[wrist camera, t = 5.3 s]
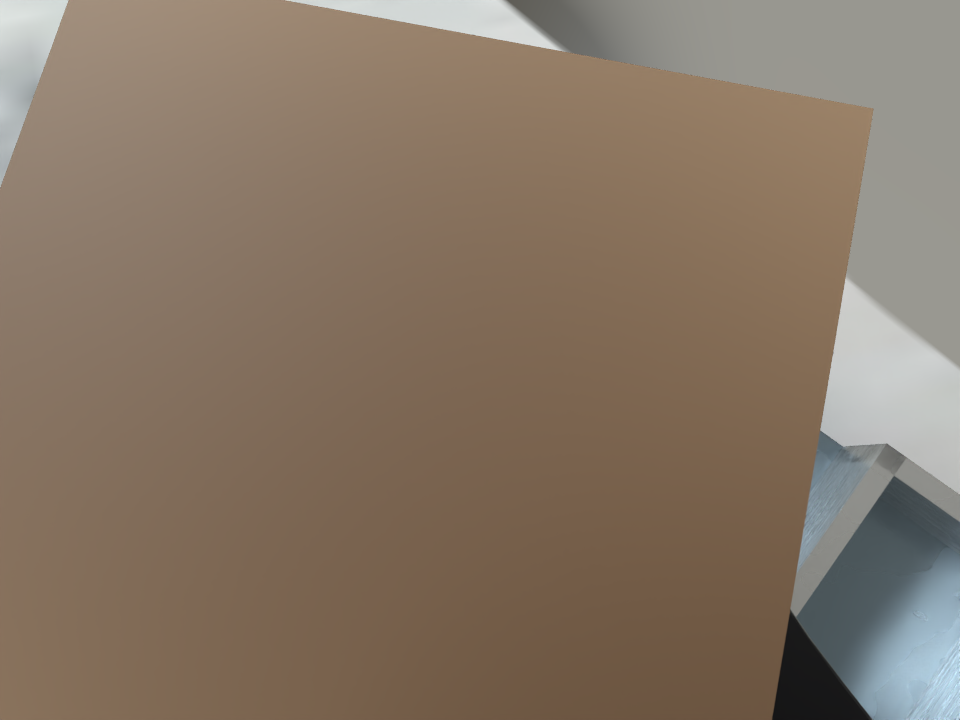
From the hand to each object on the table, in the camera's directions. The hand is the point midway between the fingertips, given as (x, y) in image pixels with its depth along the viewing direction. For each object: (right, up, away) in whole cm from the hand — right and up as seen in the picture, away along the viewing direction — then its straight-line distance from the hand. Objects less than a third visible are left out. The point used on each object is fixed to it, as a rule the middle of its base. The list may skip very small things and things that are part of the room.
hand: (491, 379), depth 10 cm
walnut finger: (0, -3, +7) cm, 7 cm away
